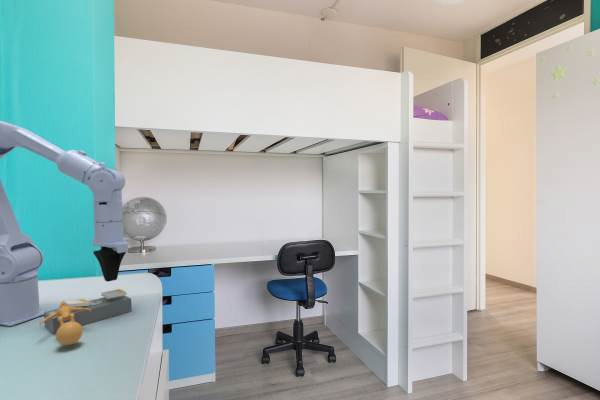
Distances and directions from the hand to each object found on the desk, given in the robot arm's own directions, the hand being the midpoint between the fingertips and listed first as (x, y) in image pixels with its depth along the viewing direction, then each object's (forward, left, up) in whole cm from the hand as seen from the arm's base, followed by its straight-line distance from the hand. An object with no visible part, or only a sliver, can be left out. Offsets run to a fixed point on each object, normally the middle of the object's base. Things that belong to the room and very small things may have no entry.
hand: (110, 280), depth 78 cm
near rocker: (-2, -7, -3) cm, 8 cm away
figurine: (+9, -16, -7) cm, 20 cm away
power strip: (-1, -5, -7) cm, 9 cm away
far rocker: (+1, 0, -3) cm, 3 cm away
